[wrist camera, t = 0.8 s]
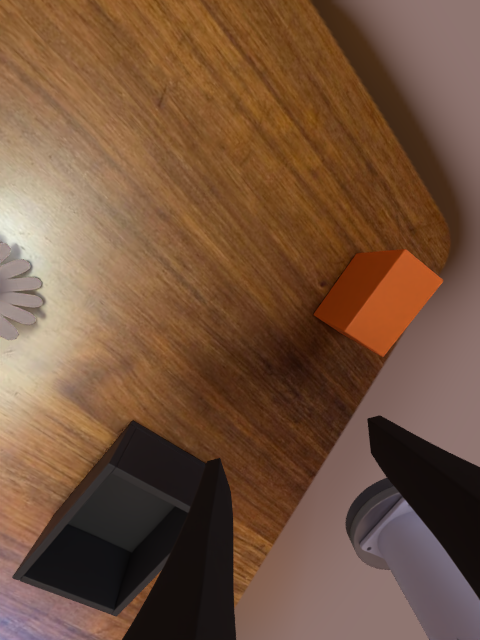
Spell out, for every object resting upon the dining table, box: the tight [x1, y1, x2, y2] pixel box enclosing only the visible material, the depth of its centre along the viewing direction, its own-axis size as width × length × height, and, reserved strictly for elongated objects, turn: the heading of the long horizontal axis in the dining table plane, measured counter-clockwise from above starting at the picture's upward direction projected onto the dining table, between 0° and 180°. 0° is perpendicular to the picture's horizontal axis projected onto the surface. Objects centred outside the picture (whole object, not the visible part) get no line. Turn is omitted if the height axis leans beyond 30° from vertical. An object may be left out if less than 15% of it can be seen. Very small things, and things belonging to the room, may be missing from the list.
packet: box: [313, 249, 443, 357], centre depth 16 cm, size 4×6×5 cm, turn 147°
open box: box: [12, 421, 205, 616], centre depth 20 cm, size 9×13×4 cm
